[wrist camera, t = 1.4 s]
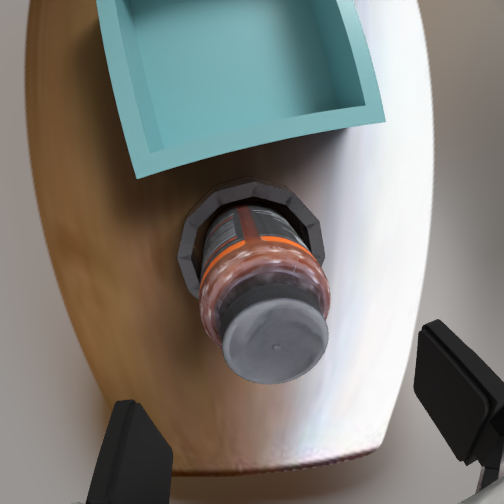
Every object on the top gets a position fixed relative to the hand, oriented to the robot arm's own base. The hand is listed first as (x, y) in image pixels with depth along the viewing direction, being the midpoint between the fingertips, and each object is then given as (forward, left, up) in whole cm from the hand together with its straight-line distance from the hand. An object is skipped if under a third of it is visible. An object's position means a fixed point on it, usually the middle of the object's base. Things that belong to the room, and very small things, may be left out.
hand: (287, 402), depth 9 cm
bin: (-14, +2, -14) cm, 19 cm away
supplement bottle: (-1, 0, -14) cm, 14 cm away
